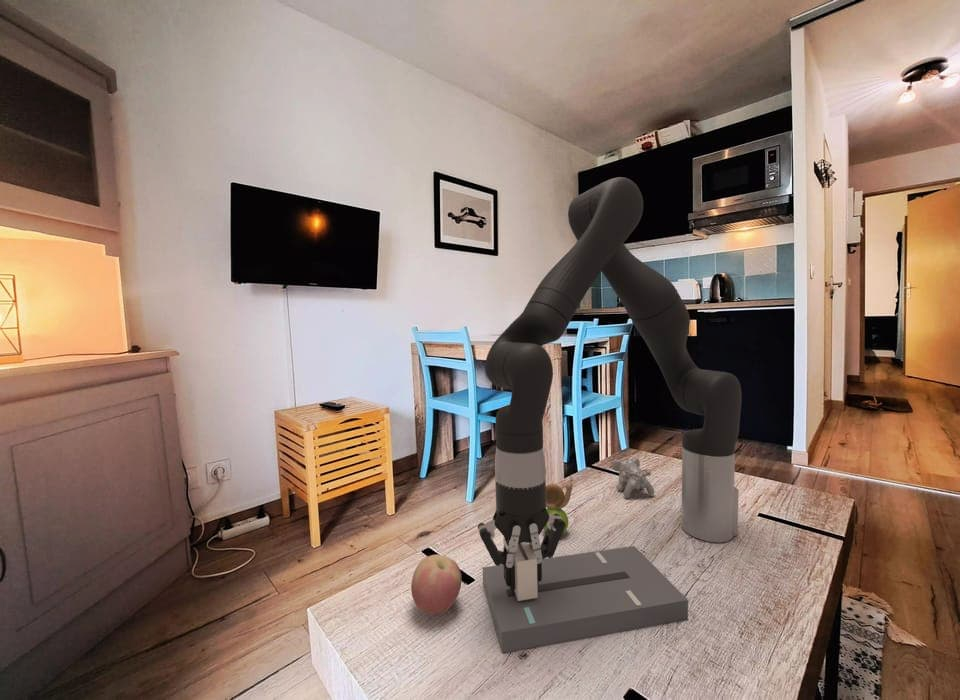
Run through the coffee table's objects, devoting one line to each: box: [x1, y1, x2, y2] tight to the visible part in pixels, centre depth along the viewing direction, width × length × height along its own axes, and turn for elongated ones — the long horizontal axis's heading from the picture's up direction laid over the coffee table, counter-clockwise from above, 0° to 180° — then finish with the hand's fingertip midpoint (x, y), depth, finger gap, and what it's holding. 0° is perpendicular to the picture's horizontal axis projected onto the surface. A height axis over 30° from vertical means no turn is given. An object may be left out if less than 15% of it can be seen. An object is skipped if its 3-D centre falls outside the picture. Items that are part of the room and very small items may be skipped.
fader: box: [514, 542, 538, 601], centre depth 60 cm, size 3×5×6 cm, turn 10°
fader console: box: [482, 545, 689, 654], centre depth 61 cm, size 28×14×3 cm, turn 100°
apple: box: [410, 554, 462, 615], centre depth 60 cm, size 8×8×8 cm
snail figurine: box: [543, 477, 574, 534], centre depth 80 cm, size 5×6×12 cm
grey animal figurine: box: [611, 457, 655, 499], centre depth 100 cm, size 9×12×8 cm
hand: (522, 584), depth 60 cm, fingers closed on fader, 3 cm apart
